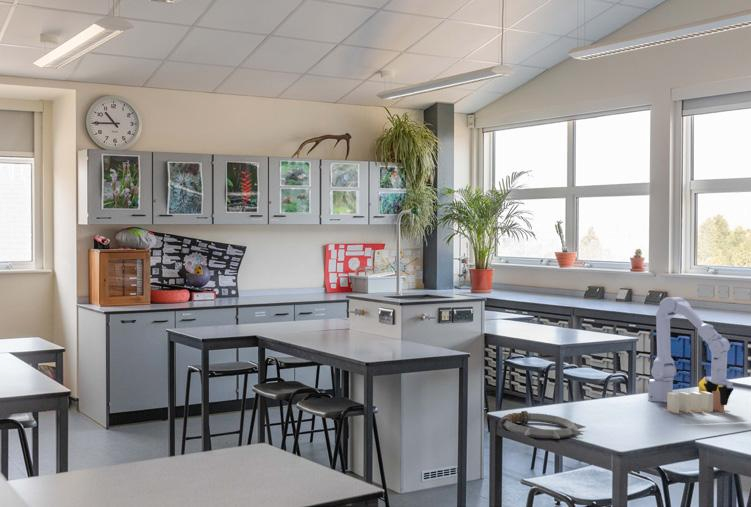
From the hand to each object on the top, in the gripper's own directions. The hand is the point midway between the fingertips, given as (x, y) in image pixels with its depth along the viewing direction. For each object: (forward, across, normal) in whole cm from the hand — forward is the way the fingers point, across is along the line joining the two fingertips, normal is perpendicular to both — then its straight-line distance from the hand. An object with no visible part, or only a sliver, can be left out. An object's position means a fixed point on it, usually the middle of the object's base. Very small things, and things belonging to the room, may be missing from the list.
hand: (717, 403), depth 332 cm
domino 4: (+3, 0, +5) cm, 6 cm away
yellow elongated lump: (+4, +22, -13) cm, 26 cm away
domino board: (+3, 0, +10) cm, 11 cm away
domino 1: (+3, 0, +20) cm, 20 cm away
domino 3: (+3, 0, +10) cm, 10 cm away
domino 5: (+3, 0, 0) cm, 3 cm away
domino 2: (+3, 0, +15) cm, 15 cm away
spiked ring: (+4, -20, +85) cm, 87 cm away
